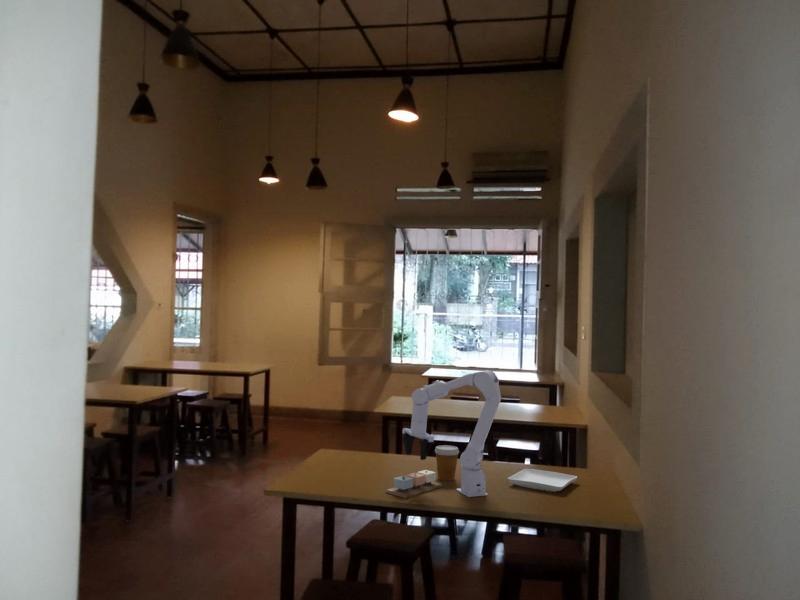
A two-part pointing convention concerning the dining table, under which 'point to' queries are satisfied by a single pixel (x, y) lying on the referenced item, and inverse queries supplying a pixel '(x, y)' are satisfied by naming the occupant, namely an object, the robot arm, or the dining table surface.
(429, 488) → the board
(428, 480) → the key one
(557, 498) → the dining table surface
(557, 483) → the salad plate
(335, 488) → the dining table surface
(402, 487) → the key three
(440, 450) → the disposable coffee cup
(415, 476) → the key two
